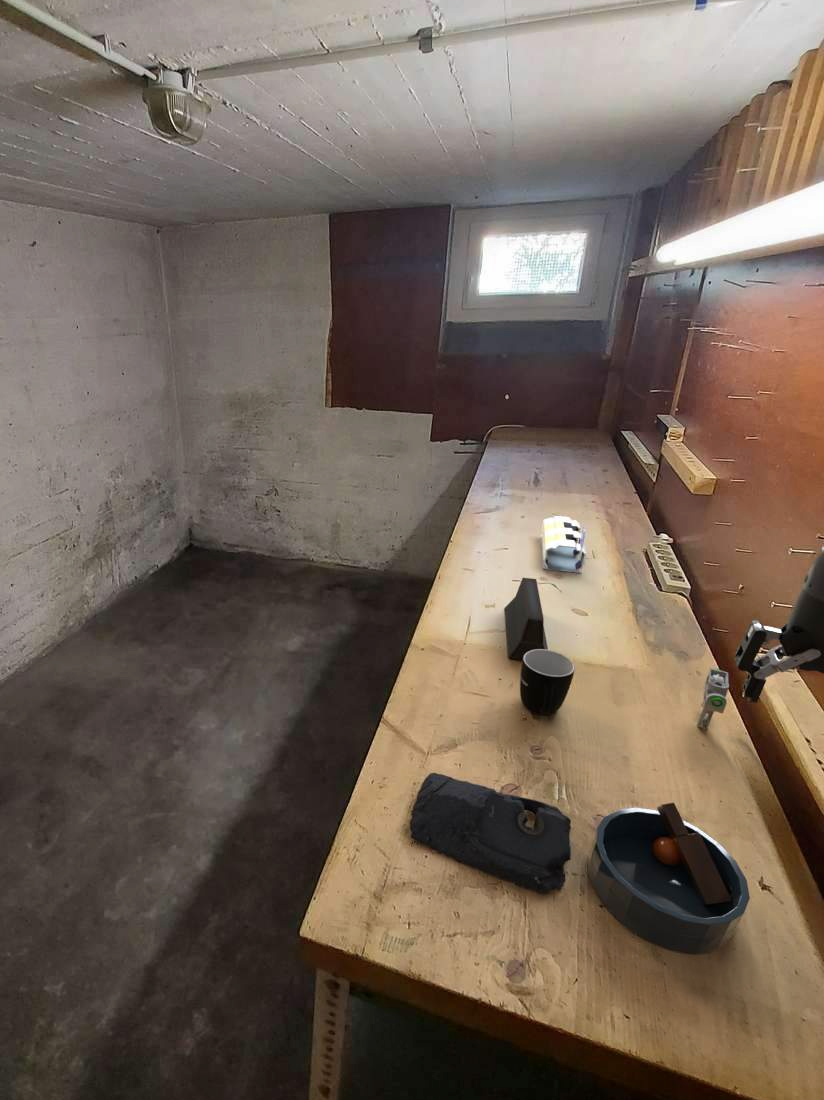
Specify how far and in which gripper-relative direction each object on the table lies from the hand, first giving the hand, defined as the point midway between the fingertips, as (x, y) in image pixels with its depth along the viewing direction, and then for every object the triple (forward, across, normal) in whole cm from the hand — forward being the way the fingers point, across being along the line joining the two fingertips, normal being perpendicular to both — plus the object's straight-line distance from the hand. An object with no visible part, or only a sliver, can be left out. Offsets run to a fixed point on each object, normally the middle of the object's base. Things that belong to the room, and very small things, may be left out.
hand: (794, 708), depth 69 cm
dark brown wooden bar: (+21, -8, -8) cm, 24 cm away
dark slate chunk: (+26, -31, -11) cm, 42 cm away
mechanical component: (+26, 0, +28) cm, 39 cm away
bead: (+23, -8, -7) cm, 25 cm away
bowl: (+26, -9, -12) cm, 30 cm away
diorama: (+27, -28, +101) cm, 108 cm away
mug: (+26, -27, +21) cm, 43 cm away
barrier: (+27, -32, +49) cm, 64 cm away
